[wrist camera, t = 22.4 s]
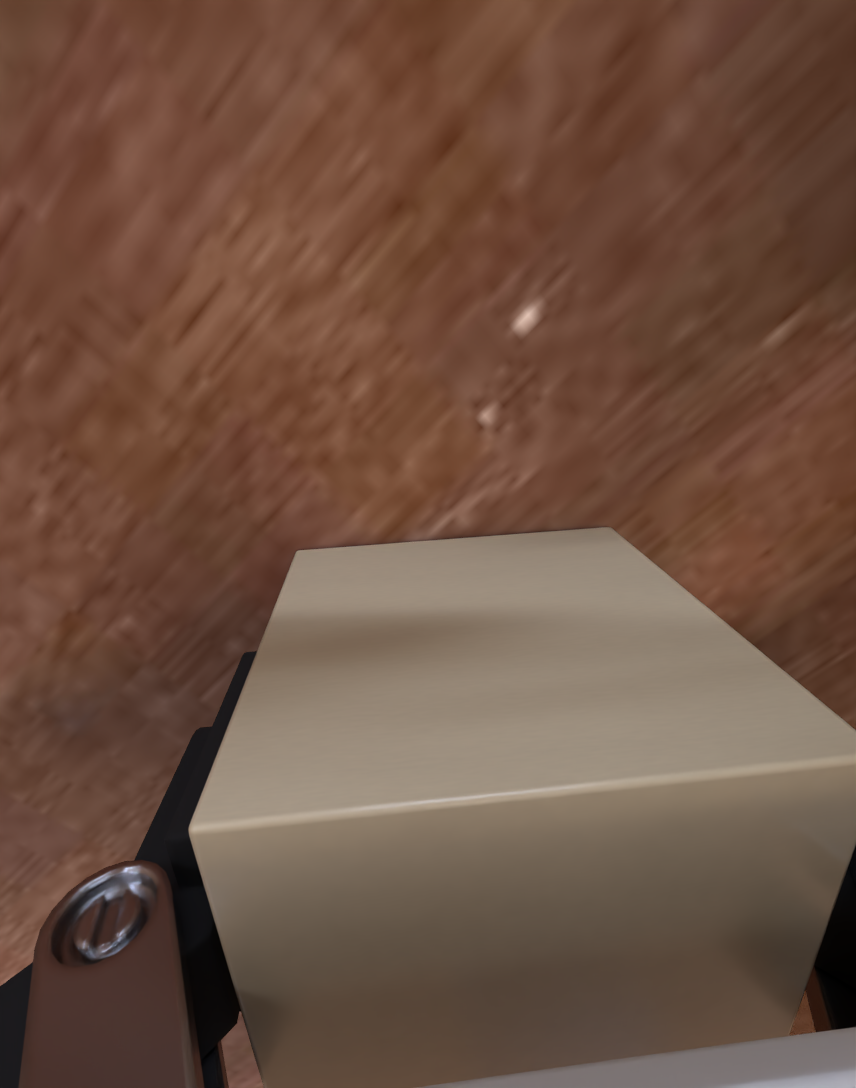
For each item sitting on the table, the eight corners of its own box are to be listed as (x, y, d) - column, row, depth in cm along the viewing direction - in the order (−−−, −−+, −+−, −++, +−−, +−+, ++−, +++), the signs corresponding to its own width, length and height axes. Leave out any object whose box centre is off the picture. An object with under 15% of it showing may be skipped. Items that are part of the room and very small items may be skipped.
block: (590, 767, 12) (763, 1120, 7) (332, 793, 12) (291, 1188, 6) (610, 525, 10) (891, 755, 5) (295, 548, 10) (183, 831, 4)
